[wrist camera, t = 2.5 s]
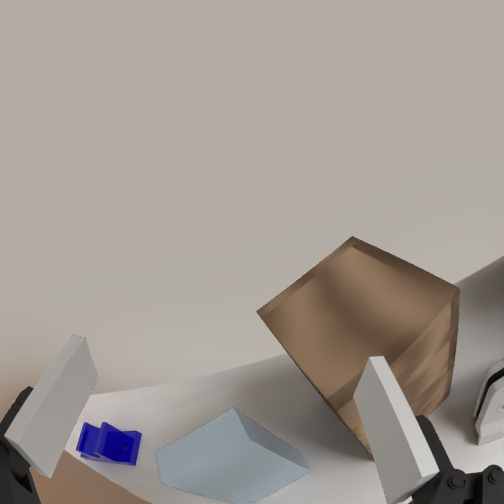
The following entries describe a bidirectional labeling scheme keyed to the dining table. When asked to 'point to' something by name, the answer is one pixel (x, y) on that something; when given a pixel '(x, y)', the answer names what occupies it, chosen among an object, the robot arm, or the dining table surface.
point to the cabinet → (368, 328)
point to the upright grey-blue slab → (230, 461)
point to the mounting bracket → (108, 444)
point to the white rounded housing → (491, 405)
